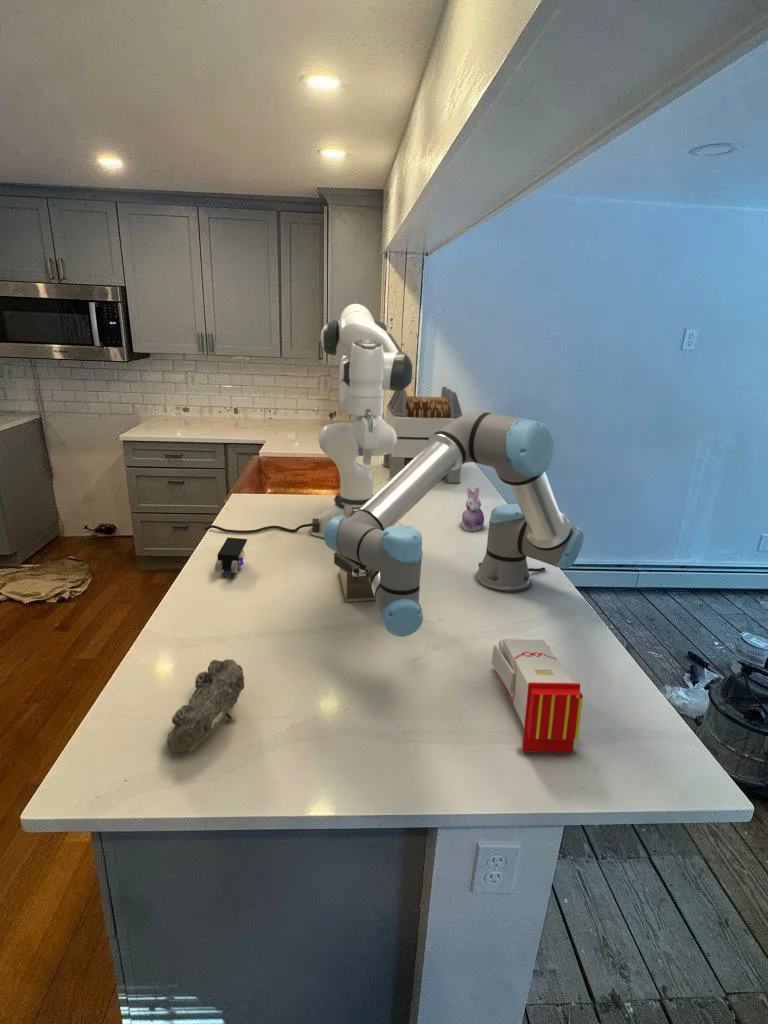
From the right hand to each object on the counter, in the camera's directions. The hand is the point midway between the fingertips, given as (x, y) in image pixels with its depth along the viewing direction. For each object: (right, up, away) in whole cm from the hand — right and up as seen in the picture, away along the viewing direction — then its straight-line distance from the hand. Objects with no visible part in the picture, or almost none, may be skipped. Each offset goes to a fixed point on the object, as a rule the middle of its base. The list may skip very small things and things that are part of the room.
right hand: (372, 543), depth 137 cm
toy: (+32, -32, -21) cm, 50 cm away
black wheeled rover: (-42, -10, +31) cm, 53 cm away
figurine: (+35, +2, +72) cm, 80 cm away
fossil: (-30, -32, -29) cm, 52 cm away
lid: (-3, +1, +16) cm, 16 cm away
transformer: (+20, +26, +138) cm, 142 cm away
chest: (-4, -14, +24) cm, 28 cm away
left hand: (-3, +21, +12) cm, 25 cm away
